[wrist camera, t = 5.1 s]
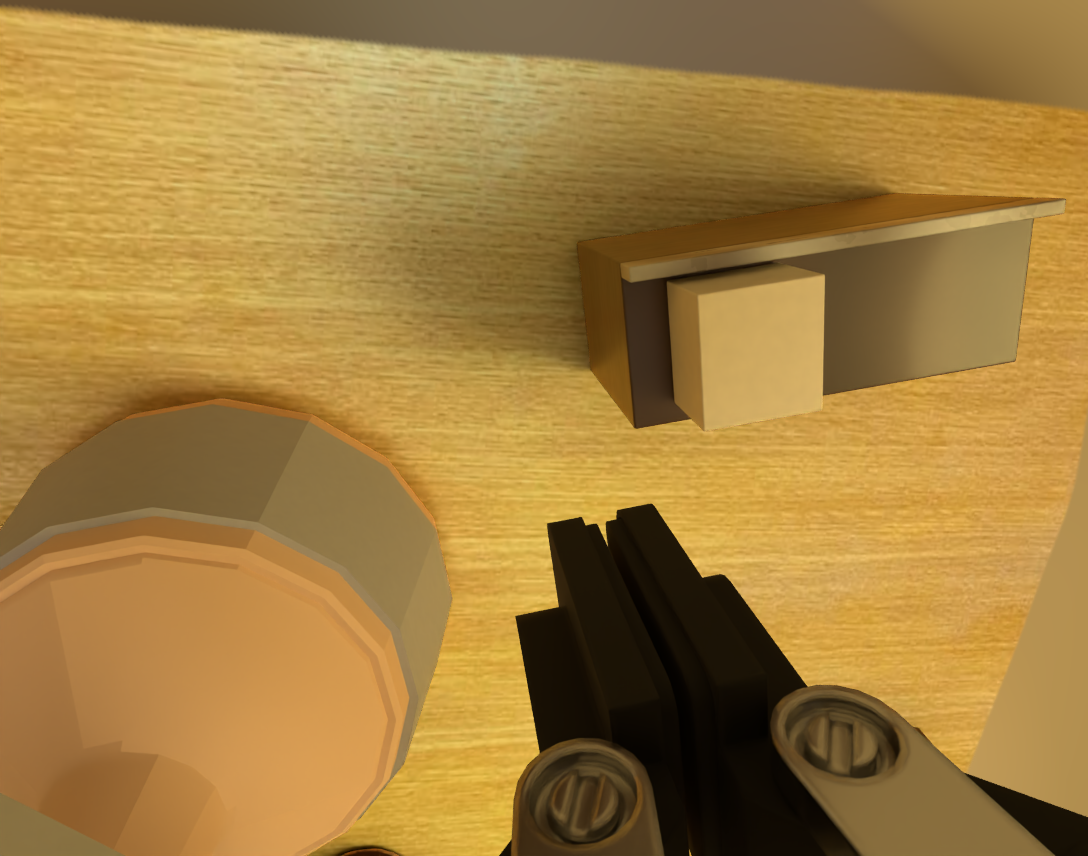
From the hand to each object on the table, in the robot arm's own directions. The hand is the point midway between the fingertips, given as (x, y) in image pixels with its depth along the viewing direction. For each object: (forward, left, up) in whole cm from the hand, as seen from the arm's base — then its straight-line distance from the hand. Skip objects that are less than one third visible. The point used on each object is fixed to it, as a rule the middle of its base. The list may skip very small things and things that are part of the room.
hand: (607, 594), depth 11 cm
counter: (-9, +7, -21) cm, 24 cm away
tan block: (-6, +4, -13) cm, 15 cm away
